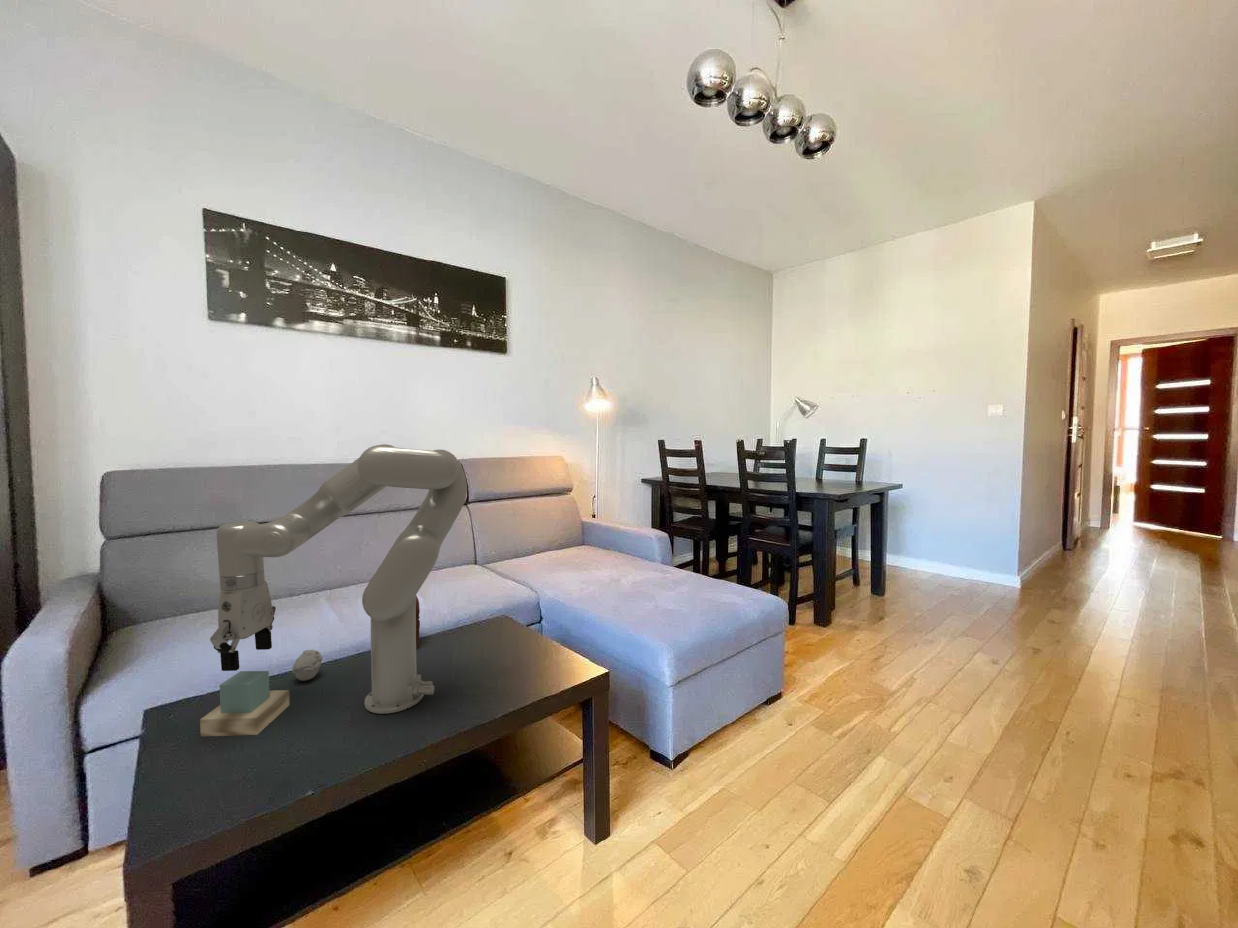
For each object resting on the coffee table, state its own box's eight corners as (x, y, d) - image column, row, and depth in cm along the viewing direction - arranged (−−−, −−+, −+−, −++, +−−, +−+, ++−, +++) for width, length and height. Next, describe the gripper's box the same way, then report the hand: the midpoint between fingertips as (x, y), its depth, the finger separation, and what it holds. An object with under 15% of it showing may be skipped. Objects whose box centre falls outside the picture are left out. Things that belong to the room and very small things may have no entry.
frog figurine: (328, 672, 127) (327, 646, 127) (309, 686, 120) (308, 658, 120) (306, 671, 128) (305, 645, 127) (285, 685, 121) (284, 657, 120)
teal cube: (269, 697, 109) (268, 670, 108) (250, 712, 103) (249, 684, 102) (241, 697, 108) (240, 671, 108) (220, 712, 102) (219, 684, 102)
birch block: (289, 707, 112) (289, 690, 112) (257, 736, 101) (256, 717, 101) (238, 708, 111) (238, 691, 111) (200, 738, 100) (200, 719, 100)
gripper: (229, 593, 96) (235, 678, 97) (287, 568, 113) (291, 641, 114) (190, 594, 96) (196, 679, 97) (253, 569, 113) (258, 642, 114)
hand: (248, 659), depth 105 cm, fingers open, 9 cm apart
